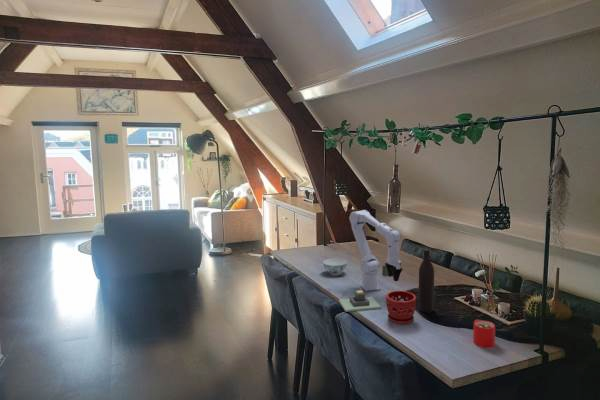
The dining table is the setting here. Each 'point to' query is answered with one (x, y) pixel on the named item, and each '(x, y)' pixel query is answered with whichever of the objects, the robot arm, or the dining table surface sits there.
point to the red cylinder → (484, 333)
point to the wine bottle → (426, 284)
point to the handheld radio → (385, 270)
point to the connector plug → (359, 296)
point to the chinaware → (335, 266)
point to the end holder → (359, 304)
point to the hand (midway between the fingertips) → (393, 278)
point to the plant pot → (401, 307)
